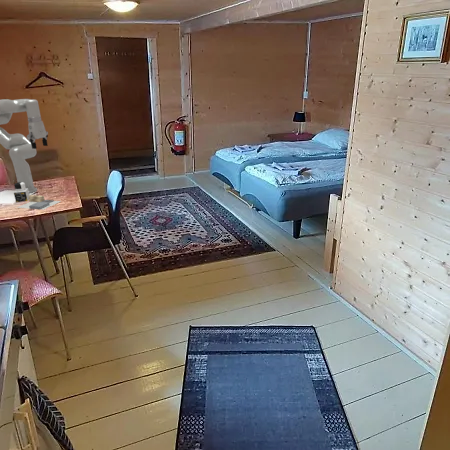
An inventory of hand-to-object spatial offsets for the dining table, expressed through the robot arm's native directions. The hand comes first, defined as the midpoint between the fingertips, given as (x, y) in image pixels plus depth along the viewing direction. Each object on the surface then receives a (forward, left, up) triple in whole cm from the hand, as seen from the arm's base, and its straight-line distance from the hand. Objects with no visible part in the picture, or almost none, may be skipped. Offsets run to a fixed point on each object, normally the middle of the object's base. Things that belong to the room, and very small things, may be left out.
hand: (40, 147), depth 262 cm
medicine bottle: (-8, -15, -32) cm, 37 cm away
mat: (+10, -21, -32) cm, 40 cm away
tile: (+10, -25, -31) cm, 41 cm away
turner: (+7, -16, -31) cm, 36 cm away
